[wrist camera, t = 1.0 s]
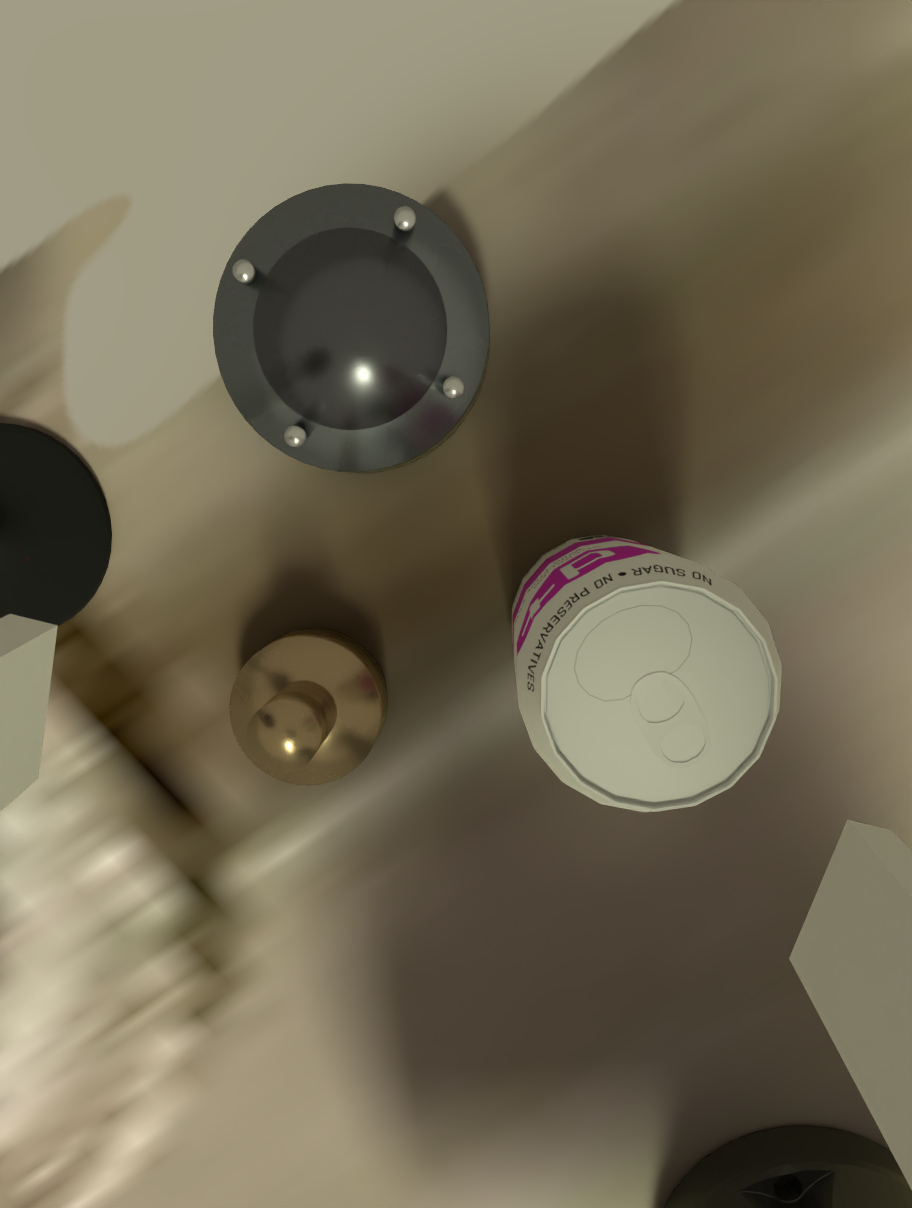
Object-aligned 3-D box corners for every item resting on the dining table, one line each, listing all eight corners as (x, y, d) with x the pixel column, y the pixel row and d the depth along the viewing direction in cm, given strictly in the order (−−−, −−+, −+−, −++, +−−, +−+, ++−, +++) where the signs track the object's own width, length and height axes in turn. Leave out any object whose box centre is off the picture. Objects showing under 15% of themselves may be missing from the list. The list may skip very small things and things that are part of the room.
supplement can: (479, 589, 39) (468, 648, 24) (632, 502, 38) (719, 508, 23) (562, 733, 40) (601, 876, 25) (714, 651, 39) (849, 749, 24)
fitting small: (412, 671, 40) (396, 706, 33) (346, 792, 41) (318, 848, 34) (285, 602, 40) (244, 623, 33) (222, 724, 41) (170, 768, 34)
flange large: (537, 285, 37) (540, 267, 34) (412, 518, 39) (405, 520, 36) (304, 154, 37) (287, 126, 34) (188, 395, 39) (163, 387, 36)
